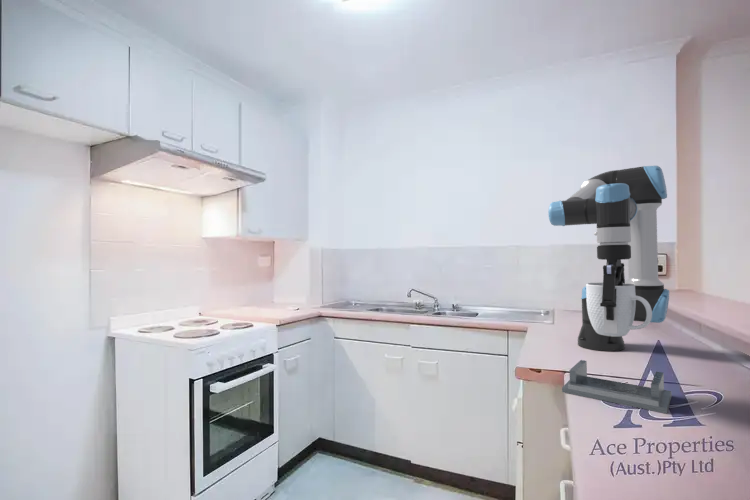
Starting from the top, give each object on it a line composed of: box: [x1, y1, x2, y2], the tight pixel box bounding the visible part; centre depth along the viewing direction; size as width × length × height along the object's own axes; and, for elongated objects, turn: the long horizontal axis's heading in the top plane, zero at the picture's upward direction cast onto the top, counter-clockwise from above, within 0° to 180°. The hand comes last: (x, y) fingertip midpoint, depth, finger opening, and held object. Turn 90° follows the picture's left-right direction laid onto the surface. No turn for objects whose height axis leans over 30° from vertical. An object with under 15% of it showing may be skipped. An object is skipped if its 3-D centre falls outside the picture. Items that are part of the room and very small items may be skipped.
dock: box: [561, 359, 672, 415], centre depth 100 cm, size 13×22×6 cm, turn 49°
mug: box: [585, 281, 652, 337], centre depth 100 cm, size 15×11×13 cm
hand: (615, 328), depth 101 cm, fingers closed on mug, 11 cm apart
